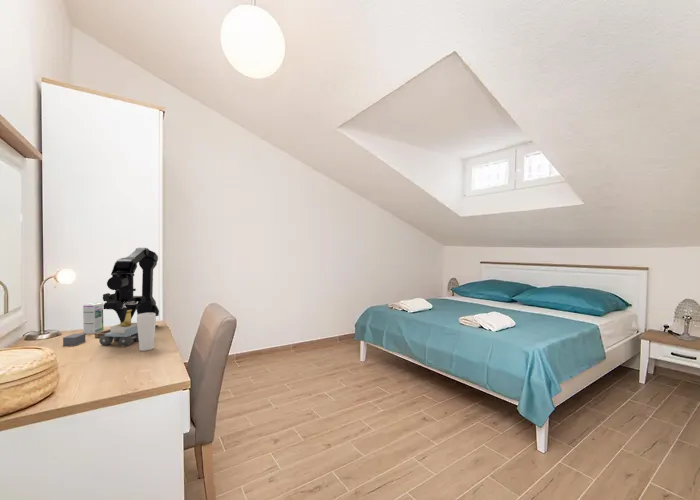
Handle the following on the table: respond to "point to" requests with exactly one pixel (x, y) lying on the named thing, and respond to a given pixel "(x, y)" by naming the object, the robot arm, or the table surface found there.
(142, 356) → the table surface
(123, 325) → the stop pin
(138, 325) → the drinking glass
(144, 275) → the robot arm
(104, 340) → the trolley
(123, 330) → the tray
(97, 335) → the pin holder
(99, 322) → the syrup box
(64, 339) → the block
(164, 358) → the table surface
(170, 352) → the table surface
